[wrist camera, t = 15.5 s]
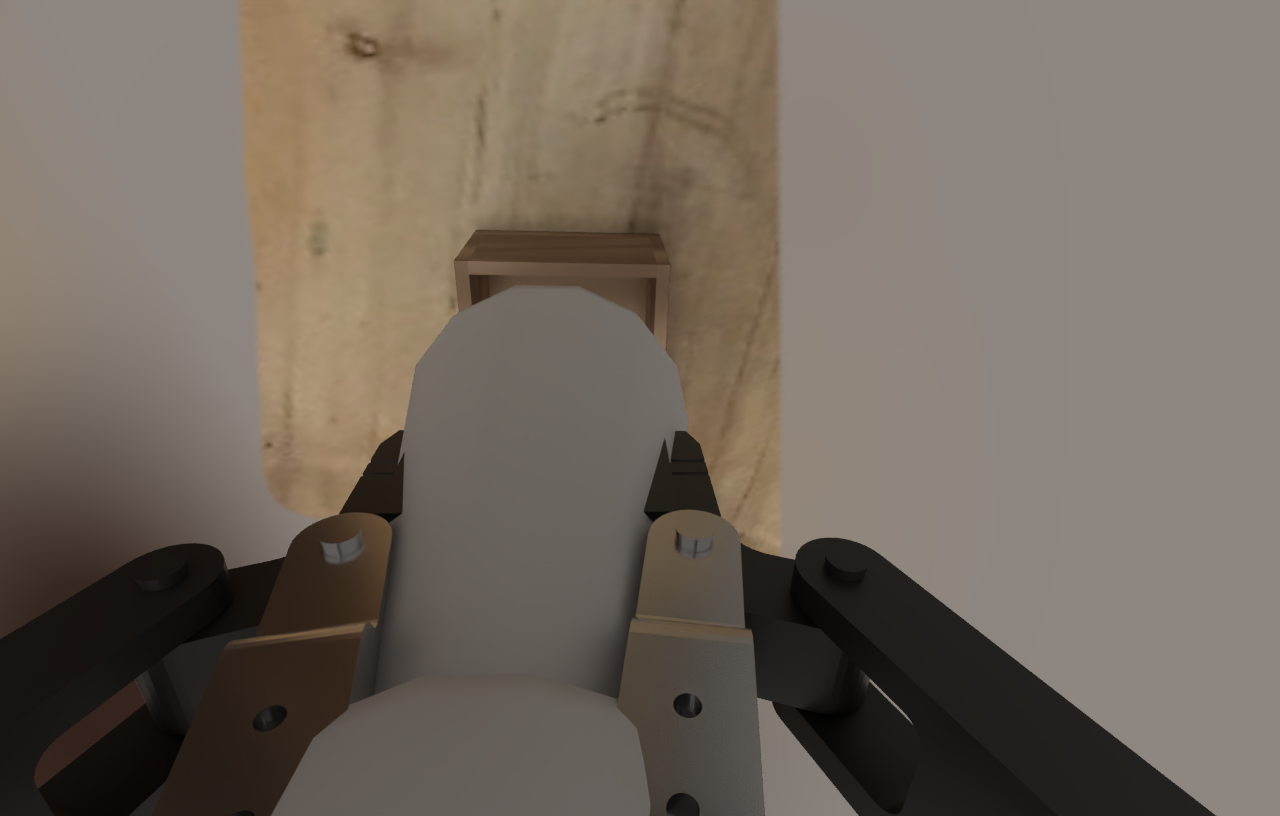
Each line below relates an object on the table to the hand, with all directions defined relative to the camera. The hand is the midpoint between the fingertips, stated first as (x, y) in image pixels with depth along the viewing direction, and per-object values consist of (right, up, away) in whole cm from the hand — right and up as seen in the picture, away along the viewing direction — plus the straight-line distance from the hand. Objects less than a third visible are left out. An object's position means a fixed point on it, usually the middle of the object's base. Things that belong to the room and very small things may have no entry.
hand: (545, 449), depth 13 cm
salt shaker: (0, +2, +3) cm, 4 cm away
